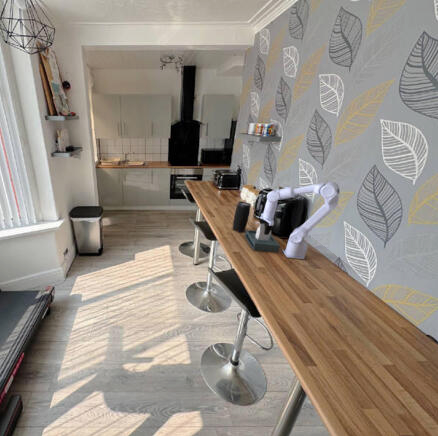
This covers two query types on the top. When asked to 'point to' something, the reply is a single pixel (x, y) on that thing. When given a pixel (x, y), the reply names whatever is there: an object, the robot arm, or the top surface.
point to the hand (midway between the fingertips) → (263, 231)
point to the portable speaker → (241, 216)
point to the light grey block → (262, 233)
